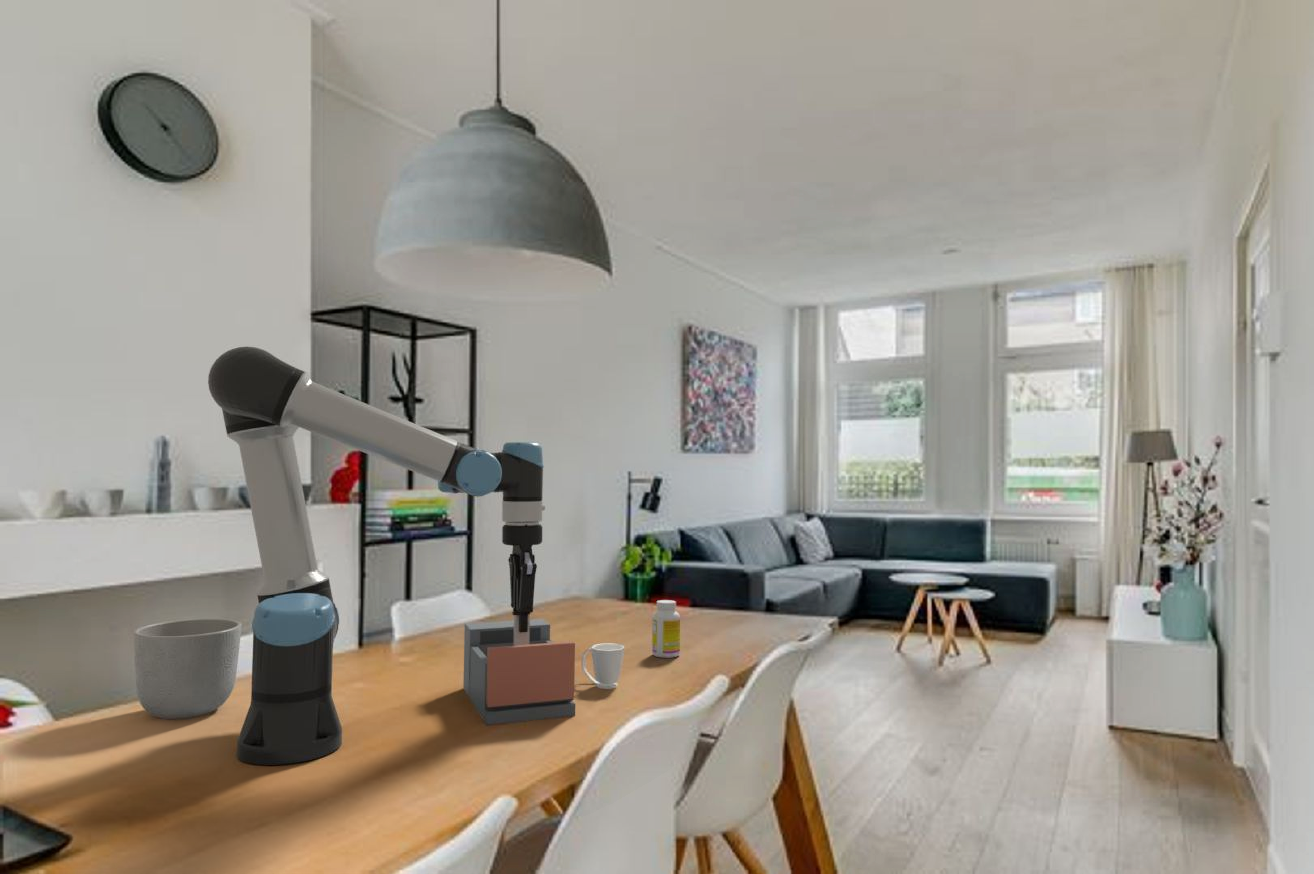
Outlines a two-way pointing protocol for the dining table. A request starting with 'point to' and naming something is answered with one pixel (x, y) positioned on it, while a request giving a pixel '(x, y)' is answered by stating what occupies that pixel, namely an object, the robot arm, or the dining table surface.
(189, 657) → the planter
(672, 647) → the supplement bottle
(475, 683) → the grey drop-front box
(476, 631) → the grey box shell
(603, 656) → the cup
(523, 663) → the panel
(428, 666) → the dining table surface
